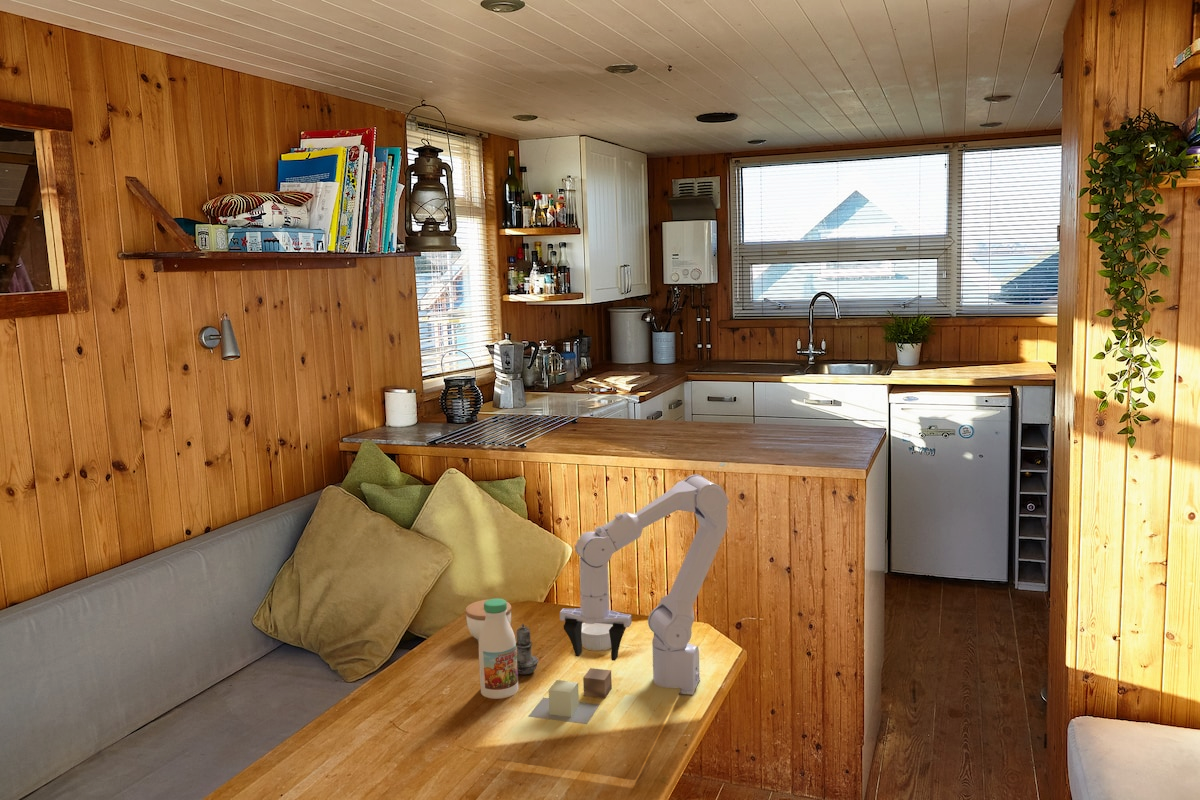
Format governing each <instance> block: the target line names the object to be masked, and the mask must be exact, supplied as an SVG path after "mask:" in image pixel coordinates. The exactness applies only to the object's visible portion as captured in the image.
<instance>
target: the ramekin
mask: <svg viewBox="0 0 1200 800" xmlns="http://www.w3.org/2000/svg"><path fill="white" fill-rule="evenodd" d="M612 626H613V625H612V624H602V623H594V624H586V623H585V622H582V631H581V639H582V648H584V649H586V650H587V651H593V652H602V651H606V650H609V649H610V650H611V640H610V634H609V630H610V628H611V627H612Z"/></svg>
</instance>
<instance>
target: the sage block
mask: <svg viewBox="0 0 1200 800" xmlns="http://www.w3.org/2000/svg"><path fill="white" fill-rule="evenodd" d="M579 695H580V694H579V682H577V681H569V680H560V679H556V680H555V681H554V683H553V684H552V685H551V687H549V689H548V698H549V714H551V715H559V716H567V717H572V715H573V714H574V713H575V711H576V710H577V708H578V707H579V702H580V700H579V698H580V697H579Z"/></svg>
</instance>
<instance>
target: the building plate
mask: <svg viewBox="0 0 1200 800" xmlns="http://www.w3.org/2000/svg"><path fill="white" fill-rule="evenodd" d="M600 705H601V704H598V703H590V702H584V701H579V707H578V708H577V710H576V711H575V713H574V714H573V715H572V717H567V716H559V715H551V714H549V697H542V698H541V700H540V701H539V702H538V703H537V704H536V706H535V707H534V709H533V710H531V712H530V713H529V715H528V718H536V719H537V718H538V719H545V720H554V721H561V722H569V723H577V724H583V725H587V724H588V723H589V722H590V721H591V719H592V717H593V716H594V714H595V712H596V711H597V710H598V709H599V707H600Z"/></svg>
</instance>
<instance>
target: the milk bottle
mask: <svg viewBox="0 0 1200 800" xmlns="http://www.w3.org/2000/svg"><path fill="white" fill-rule="evenodd" d="M489 599H490V600H489ZM489 599H486V600H487V601H486V602H485V603H484V610H485V611H484V613H485V614H486V618H485V622H484V625H483V628H482V630H481V633H480V637H479V642H478V662H479V663H478V664H479V666H478V667H479V668H478V669H479V682H480V694H481V695H482V696H483V697H485V698H488V699H491V700H492V699H493V700H494V699H498V700H500V699H506V698H509V697H512V696H514V695H515V694H517V692H518V691H519V674H518V670H517V647H516V643H517V639H516V636H515V633H514V630H513V628H512V626H511V623H510V624H509V622H508V620H507V617H506V612H507V603H506V602H507V600H505V599H503V598H489Z"/></svg>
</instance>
